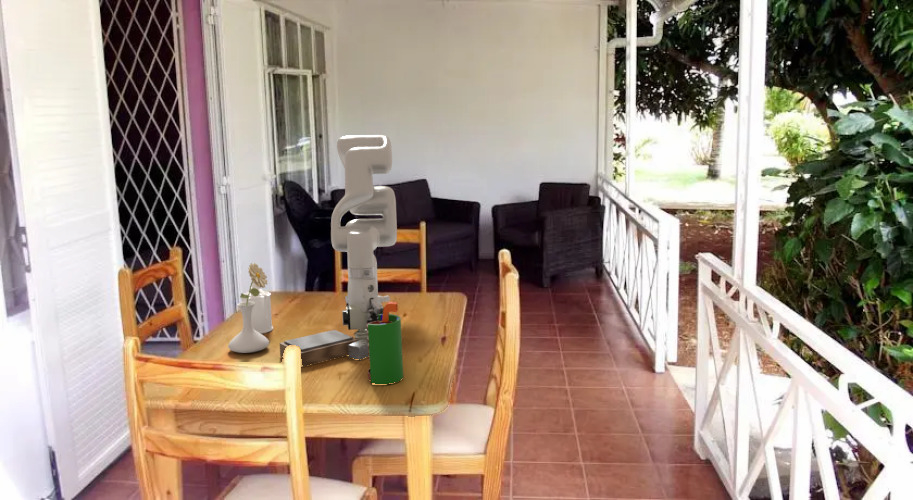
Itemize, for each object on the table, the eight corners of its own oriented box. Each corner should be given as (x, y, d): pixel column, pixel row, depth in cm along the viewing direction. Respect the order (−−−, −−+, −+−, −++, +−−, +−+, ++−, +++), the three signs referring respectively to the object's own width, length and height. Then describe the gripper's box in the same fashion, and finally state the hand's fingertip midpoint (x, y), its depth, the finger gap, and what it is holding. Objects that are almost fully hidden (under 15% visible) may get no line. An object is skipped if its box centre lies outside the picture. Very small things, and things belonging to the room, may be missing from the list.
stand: (336, 343, 216) (335, 328, 215) (358, 353, 207) (357, 337, 206) (280, 356, 204) (279, 341, 203) (301, 367, 195) (300, 351, 194)
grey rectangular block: (362, 352, 207) (362, 339, 207) (373, 355, 205) (373, 341, 204) (348, 358, 202) (348, 344, 202) (359, 361, 200) (359, 347, 200)
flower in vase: (247, 358, 203) (242, 270, 198) (220, 352, 209) (213, 266, 204) (282, 346, 214) (277, 262, 209) (254, 340, 220) (249, 258, 215)
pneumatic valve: (384, 343, 215) (383, 303, 213) (344, 345, 213) (342, 305, 211) (382, 337, 221) (381, 299, 219) (343, 340, 219) (341, 301, 217)
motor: (368, 372, 191) (366, 298, 187) (403, 371, 192) (401, 296, 188) (367, 386, 181) (364, 308, 177) (403, 385, 182) (401, 306, 178)
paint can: (236, 330, 230) (232, 268, 226) (262, 324, 237) (258, 263, 233) (255, 337, 223) (251, 273, 219) (281, 330, 230) (277, 268, 226)
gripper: (388, 275, 209) (390, 333, 212) (355, 266, 222) (358, 321, 225) (366, 279, 204) (368, 338, 208) (334, 270, 217) (336, 325, 221)
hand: (363, 329), depth 216 cm, fingers open, 9 cm apart
